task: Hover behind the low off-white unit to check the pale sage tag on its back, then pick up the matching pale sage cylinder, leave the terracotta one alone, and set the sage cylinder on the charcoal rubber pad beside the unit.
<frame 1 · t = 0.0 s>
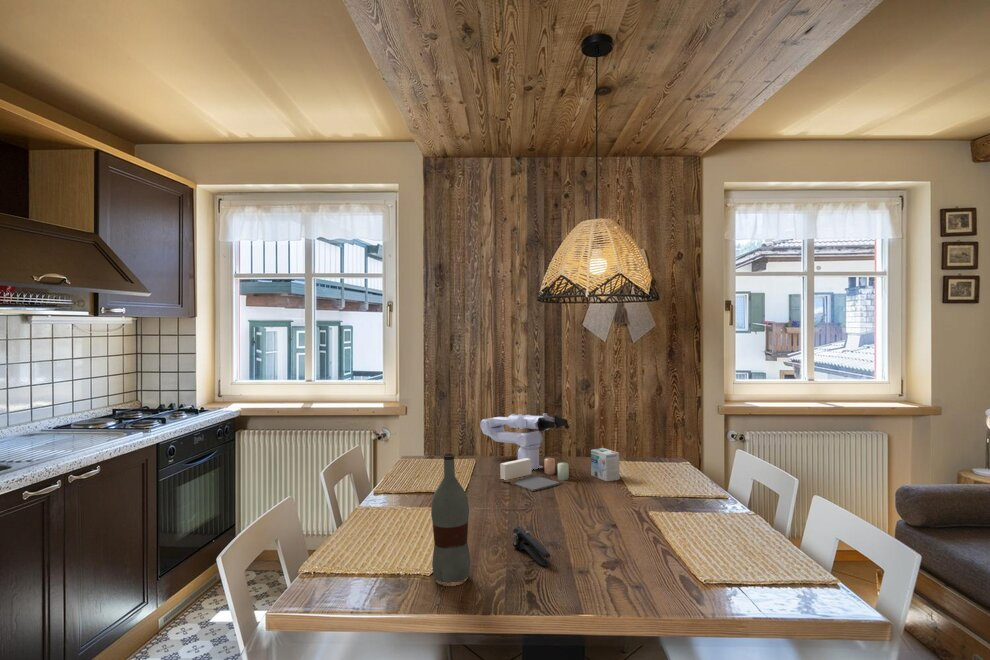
hand: (560, 423, 214), 22 cm above the table, tool horizontal, fingers open, 7 cm apart
terracotta part: (549, 473, 220), on the table
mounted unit: (516, 478, 212), on the table
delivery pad: (534, 484, 203), on the table
bottle: (451, 579, 126), on the table
light bulb box: (605, 477, 211), on the table
sage part: (563, 478, 210), on the table
can opener: (532, 556, 139), on the table
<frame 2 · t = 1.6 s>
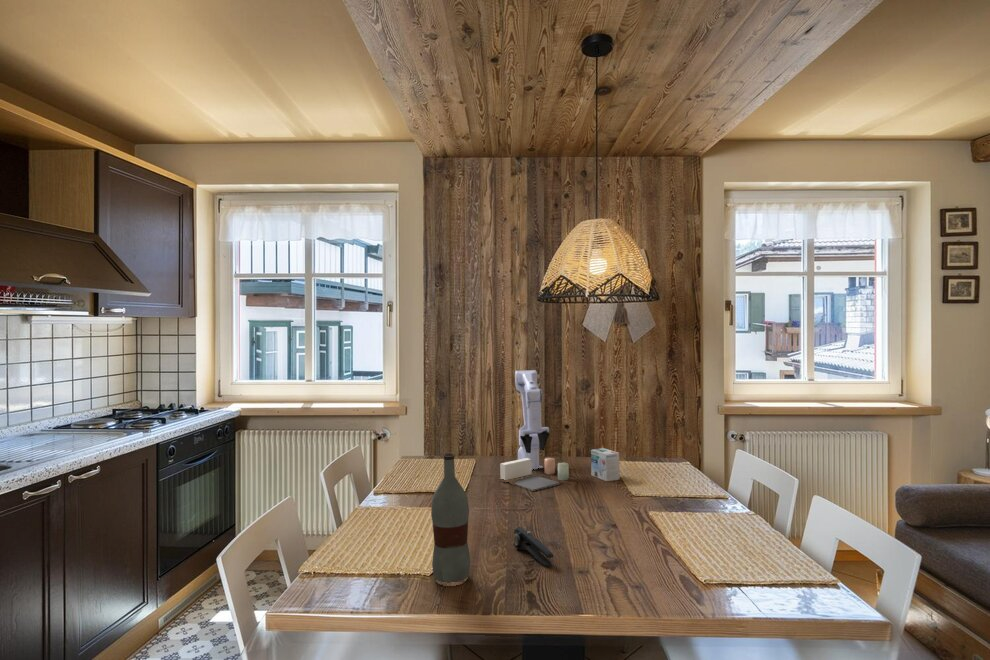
hand: (535, 451, 214), 10 cm above the table, tool pointing down, fingers open, 7 cm apart
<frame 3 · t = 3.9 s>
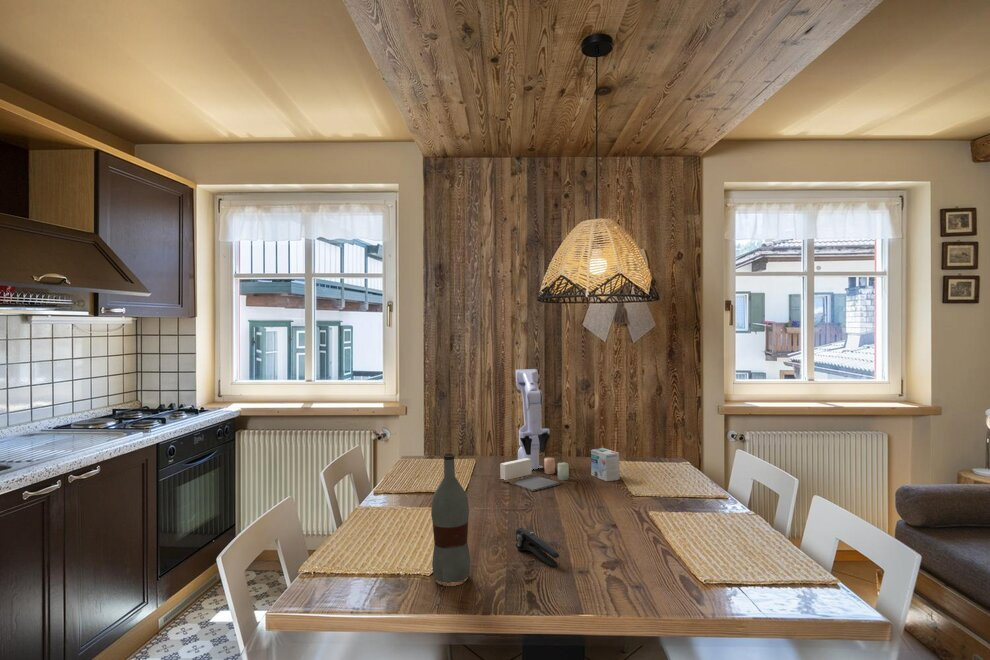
hand: (535, 453, 213), 10 cm above the table, tool pointing down, fingers open, 7 cm apart
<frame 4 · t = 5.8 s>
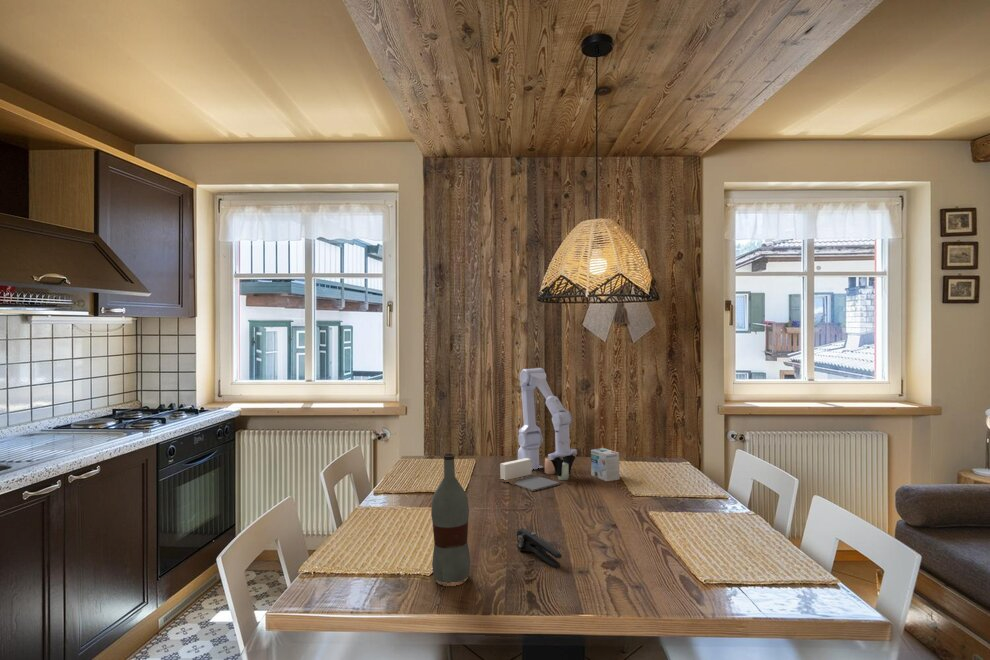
hand: (563, 474, 210), 2 cm above the table, tool pointing down, fingers closed on sage part, 4 cm apart
sage part: (563, 478, 210), on the table, touching gripper
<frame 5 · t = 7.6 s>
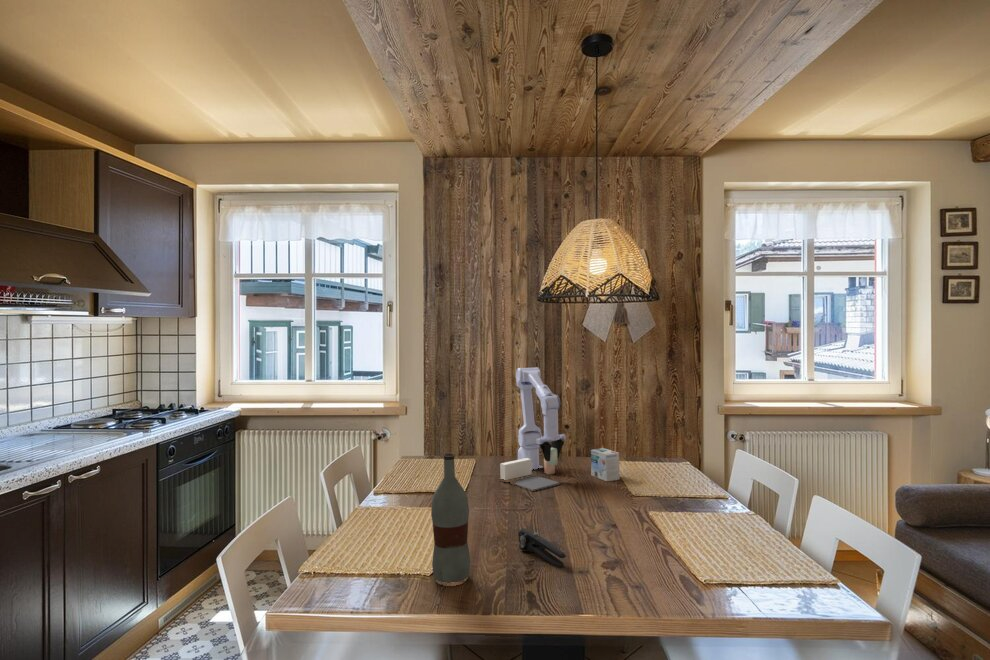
hand: (551, 459, 208), 8 cm above the table, tool pointing down, fingers closed on sage part, 4 cm apart
sage part: (552, 463, 208), point 7 cm above the table, touching gripper
when the fingers open (3 cm above the table, at t = 9.5 s): sage part stays where it is, resting on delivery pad.
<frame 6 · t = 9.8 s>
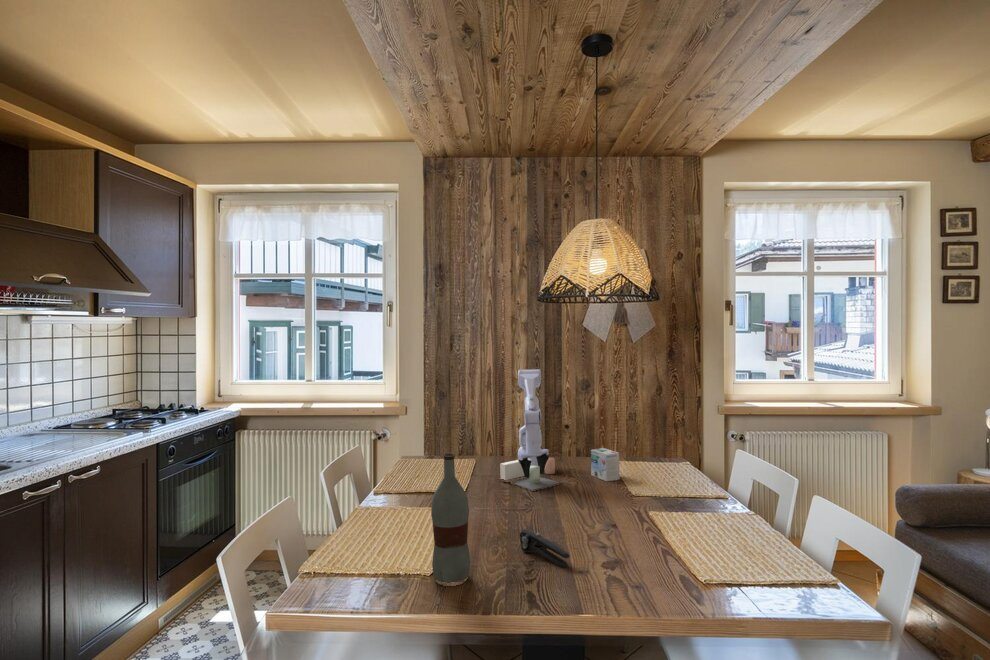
hand: (534, 475, 203), 3 cm above the table, tool pointing down, fingers open, 7 cm apart
sage part: (534, 482, 203), point 1 cm above the table, touching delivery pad
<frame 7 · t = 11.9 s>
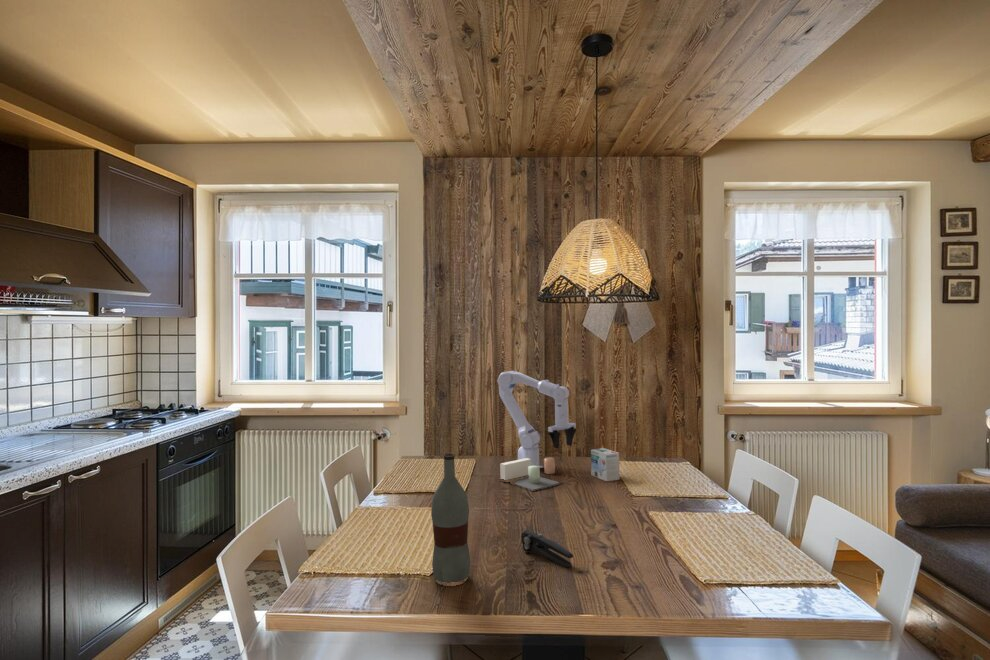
hand: (562, 446, 223), 10 cm above the table, tool pointing down, fingers open, 7 cm apart
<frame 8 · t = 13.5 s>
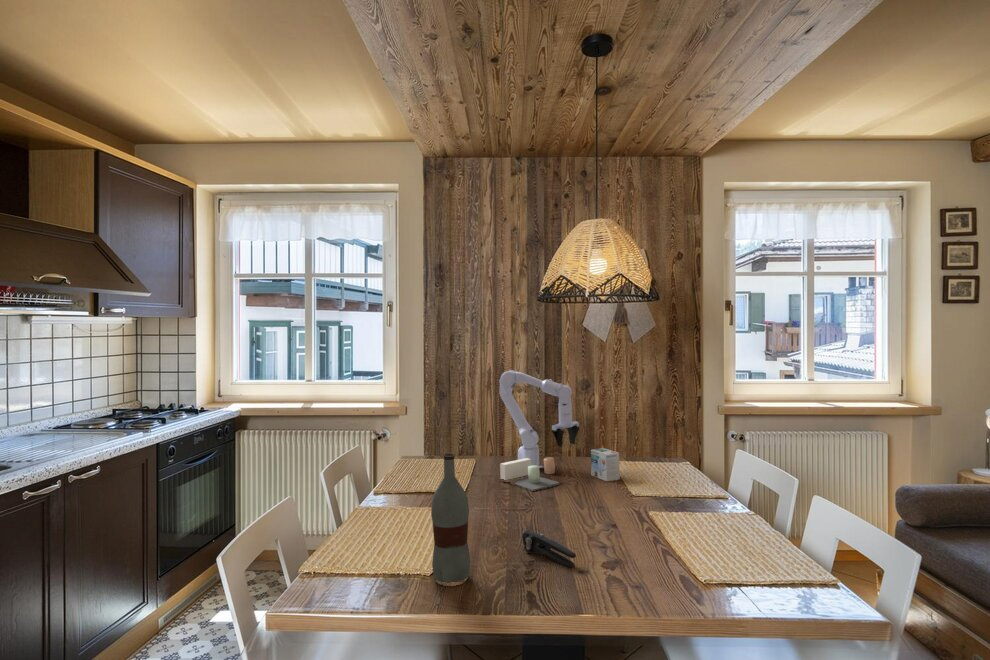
hand: (566, 444, 226), 10 cm above the table, tool pointing down, fingers open, 7 cm apart
at the end: sage part inside the target area on the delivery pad (0.1 cm from its centre), point 0.9 cm above the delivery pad's base; sage part tilted 2°; terracotta part moved 0.1 cm from its start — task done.
